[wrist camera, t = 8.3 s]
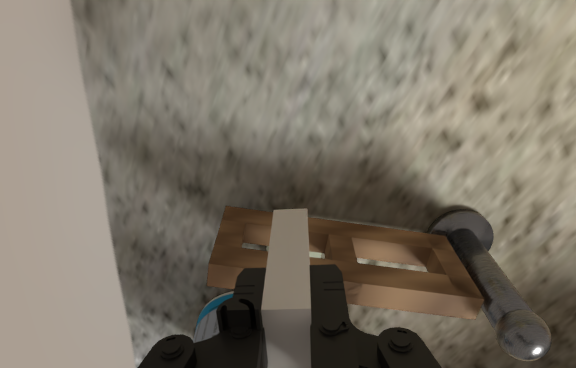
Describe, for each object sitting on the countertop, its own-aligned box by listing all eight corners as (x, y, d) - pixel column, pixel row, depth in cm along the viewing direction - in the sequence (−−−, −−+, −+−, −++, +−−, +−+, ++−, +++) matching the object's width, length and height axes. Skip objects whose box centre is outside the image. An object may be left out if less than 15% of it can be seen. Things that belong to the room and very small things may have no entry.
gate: (445, 235, 31) (484, 299, 25) (438, 253, 32) (475, 319, 26) (225, 205, 30) (208, 263, 24) (224, 224, 31) (206, 285, 25)
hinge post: (485, 261, 34) (572, 384, 23) (423, 264, 34) (481, 387, 24) (494, 207, 32) (594, 316, 21) (428, 211, 32) (495, 320, 21)
